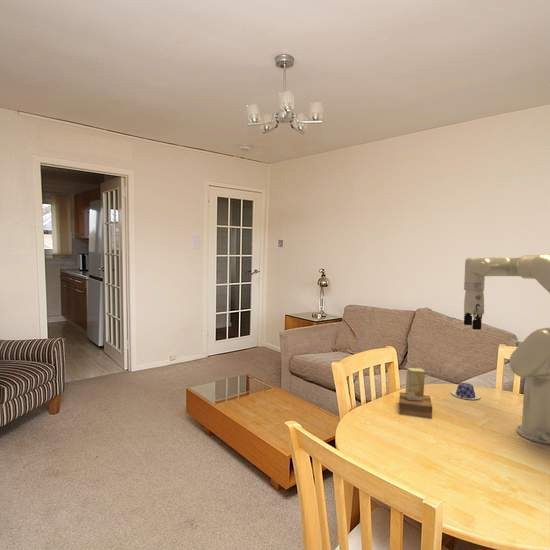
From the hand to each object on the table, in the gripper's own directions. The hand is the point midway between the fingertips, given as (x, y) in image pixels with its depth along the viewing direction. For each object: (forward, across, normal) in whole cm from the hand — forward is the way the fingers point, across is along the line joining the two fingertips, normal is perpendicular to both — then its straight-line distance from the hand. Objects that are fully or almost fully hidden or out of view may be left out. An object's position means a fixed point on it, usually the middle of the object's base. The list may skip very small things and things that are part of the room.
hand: (472, 327), depth 159 cm
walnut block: (+34, -11, +25) cm, 43 cm away
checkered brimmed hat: (+34, +10, -2) cm, 35 cm away
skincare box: (+29, -10, +25) cm, 40 cm away
